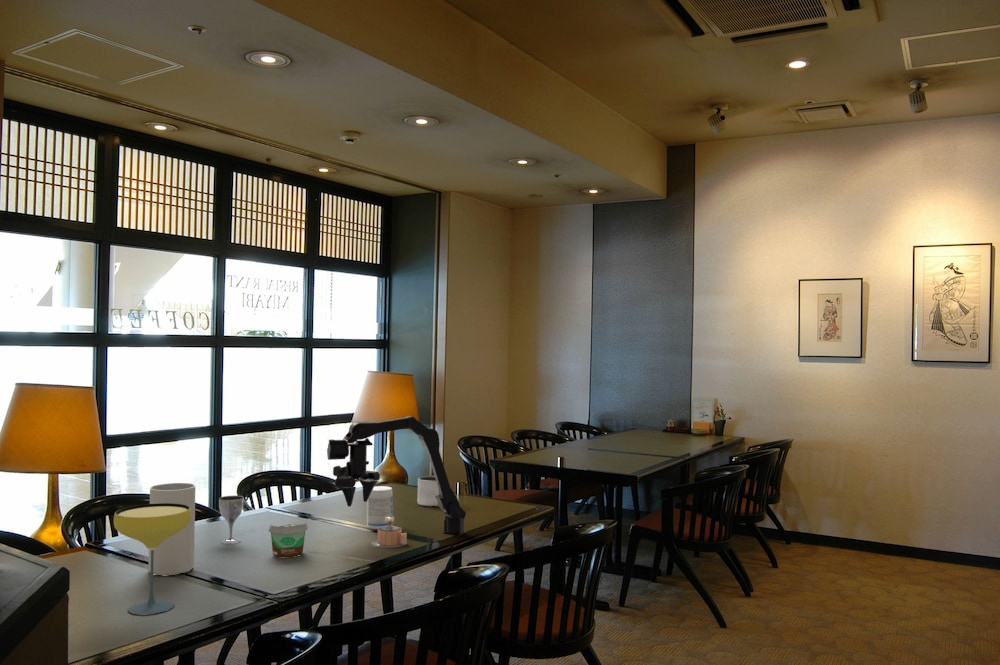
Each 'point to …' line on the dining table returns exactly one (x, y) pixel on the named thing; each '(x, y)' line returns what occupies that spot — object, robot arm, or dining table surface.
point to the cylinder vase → (179, 547)
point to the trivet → (386, 546)
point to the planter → (427, 491)
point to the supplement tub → (379, 507)
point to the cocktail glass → (152, 537)
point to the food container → (288, 540)
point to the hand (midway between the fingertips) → (357, 504)
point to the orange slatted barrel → (391, 536)
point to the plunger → (389, 521)
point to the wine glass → (231, 510)
